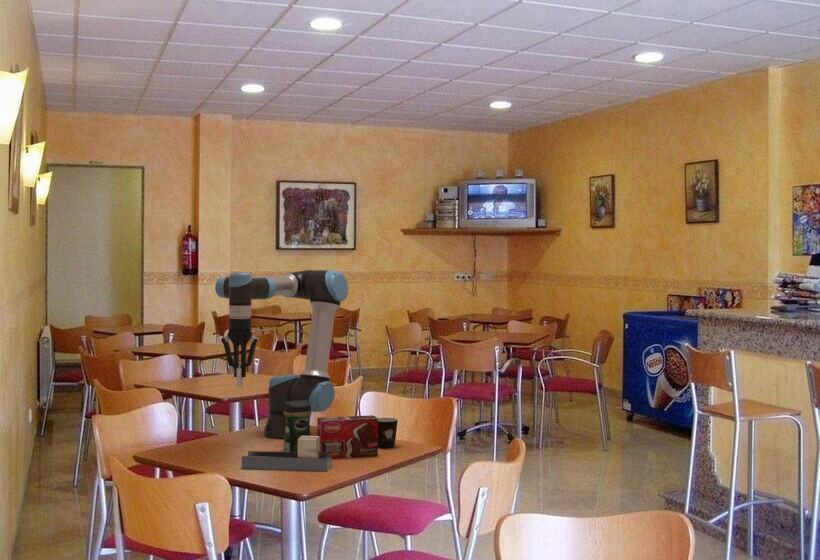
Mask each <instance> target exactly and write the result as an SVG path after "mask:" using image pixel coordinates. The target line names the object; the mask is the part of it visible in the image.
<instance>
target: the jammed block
mask: <svg viewBox="0 0 820 560" xmlns="http://www.w3.org/2000/svg"><path fill="white" fill-rule="evenodd" d="M298 457H302V458H319V436H317V435H311V436H301V437H300V438H299V439H298Z"/></svg>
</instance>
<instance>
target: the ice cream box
mask: <svg viewBox="0 0 820 560" xmlns="http://www.w3.org/2000/svg"><path fill="white" fill-rule="evenodd" d="M378 418H379V417H377V416H375V415H371V414H370V415H352V416H351V415H350V416H349V415H348V416H326V417H325V416H323V417H317V419H316V420H317V422H316V423H317V425H316V427H317V428H316V433H317V434H316V436H319V453H332V460H336V459H337V460H339V459H355V458H371V457H373V458H375V457H376V458H377V457H378V455H379V454H378V450H379V448H378Z"/></svg>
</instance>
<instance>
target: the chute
mask: <svg viewBox="0 0 820 560" xmlns="http://www.w3.org/2000/svg"><path fill="white" fill-rule="evenodd" d="M332 462H333V459H332V453H319V458H302V457H298V452H284V451H273V450H272V451H266V450H265V451H264V450H247V455H242V456H241V470H270V471H300V472H301V471H304V472H305V471H307V472H309V471H310V472H312V471H313V472H328V471H329V470H330V468H331V467H332V464H333V463H332Z"/></svg>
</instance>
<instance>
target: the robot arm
mask: <svg viewBox="0 0 820 560" xmlns="http://www.w3.org/2000/svg"><path fill="white" fill-rule="evenodd" d="M214 285H215V286H214V287H215V288H214V289H215V294H216V295H217V296H218V297H219V298H221V299H228V301H229V302H228V317H229V319H228V332H227V335H226V336H224V337H222V338H221V339H220V341H221V343H222V345H223V347H224V348H223V349H224V352H225V356H226V361H227V364H228V366H229V367H232V368H233V377H234V378H236V388H239V389H240V388H242V387H243V386H244V378H246V376H247V368H248V367H250V366H251V365H252V363H253V359H254V355H255V351H256V348H257V344H258V343H259V341H260V338H257V337H256V336H254V334H253V332H252V319H251V317H252V301H254V300H267V299H268V300H269V299H272V298H273V297H278V296H282V297H283V298H284V297H285V298H293V299H300V300H308V301H309V300H310V301H309V304H310V305H311V307H312V314H311V321H310V328H309V337H308V343H307V349H306V350H307V351H306V357H305V358H306V359H305V366H304V370H303V371H302V372H301V373H299V374H297V373H296V374H287V375H285V374H284V375H277V376H273V377H271V378H270V379H269V382H268V383H269V384H268V389H267V390H268V417H267V420H266V424H265V426H264V429H263V435H264V437H266V438H270V439H271V438H272V439H284V438H285V426H286V420H285V416H284V412H283V411H284V404H285V402H289V401H298V400H306V401H309V402H310V404H311V411H312V412H311V413H317V412H318V413H322V412H326V411H327V410H328V409H329V408H330V407H331V406H332V404H333V402H334V399H335V395H336V388H335V386H334V384H333V383H332V382H331V376H330V375H329V373H328V371H329V370H328V367H329V361H330V354H331V348H332V339H333V331H334V326H335V325H334V324H335V318H336V317H335V316H336V311H337V310H338V309H340V308H341V302H344V301H345V300H346V299H347V297H348V294H349V283H348V280H347V278H346V276H345V275H344V274H343V273H342V272H341V271H337V270H332V269H326V270H324V269H318V270H317V269H316V270H313V269H307V270H301V271H299V270H298V271H294V272H285V273H283V274H281V275H263V276H262V275H261V276H257V275H255V276H252V273H251V272H231V273H230V274H229V276H222V277H220V278H218V279H217V281H216V282H215V284H214ZM229 342H231V343H232V346H233V347H232V348H233V355H232V350H231V345H230V343H229ZM249 342H250V343H251V344H250V347H249V351H248V355H247V346H248V345H247V344H248V343H249ZM239 364H240V365H239Z"/></svg>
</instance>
